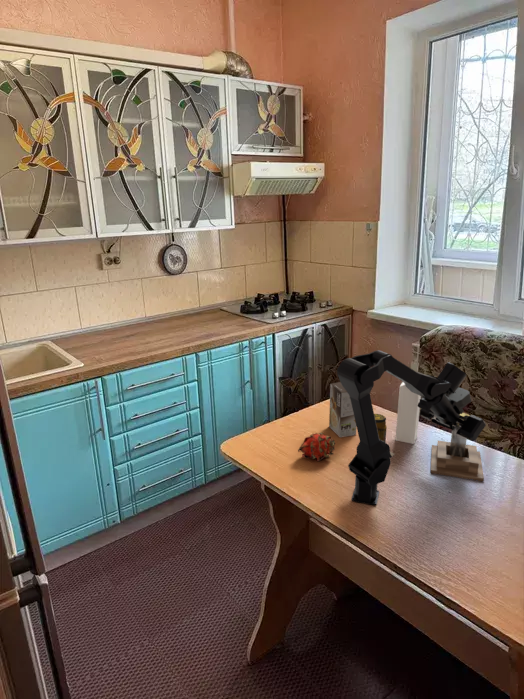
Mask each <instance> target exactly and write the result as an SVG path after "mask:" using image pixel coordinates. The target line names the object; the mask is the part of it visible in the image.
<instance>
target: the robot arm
mask: <svg viewBox="0 0 524 699" xmlns="http://www.w3.org/2000/svg"><path fill="white" fill-rule="evenodd" d="M385 372H386V373H387V374H389V375H391V376H393V377H395V378H396V379H398V380H400V381H401V382H404V383H405V386H406V387H407V388H408V389H409V390H410V391H411V392H413V393H415V394H417V395H420V396H421V399H420V402H419V403H418V407H419V408H420V410H419V416H421V418H423V419H425V420H428V421H431V422H432V423H433V424H435V425H438V426H440V427H442V428H443V427H444V428H446V429H449V430H451V431H452V427H453V426H455V427H456V426H457V425H458V424H459V426H460V427H459V430H458V431H457V432H456V434H458V435H460V436H463V437H465V438H467V440H469V441H473V442H475V441H476V440H477V439H478V438H479V436H480V435H481V433H482V432H483V430H484V429H485V427H486V425H487V424H486V422H485V420H484V419H483V418H480V417H478V416H476V415H474V414H469V415H470V416H467V415H466V416H461V415H460V414H462V413H465V410H464V408H465V407H466V406H467V405H468V404H471V402H472V397H471V394H470V390H467V389H466V388H465V389H464V388H461V387H460V386H461V385H462V384H463V382H464V380H465V379H466V377H467V373H466V372H465V371H463V370H461V368H459V367H457V366H456V364H454V363H451V362H446V364H445V365H444V367H443V369H442V370H441V372H440V373H439V374H438V376H437V377H436V376H433V375H430V374H424V373H422V372H419V371H416V370H414V369H413V368H411V367H410V366H407V365H406V364H404V363H403V362H401V361H400V360H399V359H397V358H395V357H394V356H393V355H392V354H390V353H389V352H384V351H382V350H378V349H377V350H373V351H371V352H369V353H366V354H365V353H364V354H360V355H355V356H352V357H348V358H345V359H343V360H342V361H341V363H339V366H338V367H337V369H336V373H337V377H338V379H339V382H341V384H342V386H343V387H344V388H345V390H346V391H347V393H348V394H349V396H350V399H351V404H352V408H353V413H354V417H355V422H356V431H357V434H358V438H359V442H358V444H357V447H356V454H355V456H354V457H353V458H352V460H350V462H349V463H348V464H347V466H348V469H349V472H351V473H353V474H354V475H355V478H354V479H355V481H354V482H355V484H354V488H353V493H352V495H351V501H352V502H355V503H361V504H366V505H372V506H377V505H378V501H379V496H380V490H378V485H379V484H381V483H383V482H385V481H386V478H387V474H388V472H389V469H390V467H391V463H392V462H391V459H392V458H393V456H391V454H390V452H391V447H390V445H389V443H387V442H386V443H385V442H383V441H382V440H380V439H379V436H378V431H377V426H376V421H375V416H374V414H375V412H374V407H373V402H372V397H371V392H372V390H373V387H374V386H375V385H374V384H375V382H376V381H378V380H380V379H381V377H383V374H384V373H385ZM461 419H462V420H461Z"/></svg>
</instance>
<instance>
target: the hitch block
mask: <svg viewBox="0 0 524 699" xmlns="http://www.w3.org/2000/svg"><path fill="white" fill-rule="evenodd" d="M450 443H451V441H446V440H445V441H443V440H437V445H435V444H432V445H431V456H430V457H431V458H430V474H433V475H441V476H446V477H453V478H459V479H465V480H470V479H473V480H472V481H476V480H478V482H482V481H485V476H484V470H483V462H482V457H481V456H482V455H481V451H478V449H477V445H473V444H472V445H471V444H466V448H465V455H464V456H463V457H458V456H452V455H451V454H450V453H449V452H450Z"/></svg>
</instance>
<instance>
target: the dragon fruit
mask: <svg viewBox="0 0 524 699" xmlns="http://www.w3.org/2000/svg"><path fill="white" fill-rule="evenodd" d="M335 444H336V442H335V440H334V438H332V436H329V435H327V434H324V433H322V432H319V434H318V433H316V432H315V433H312V434H311V435H310V436H306V437H305V438H304V440H303V442H302V443H301V445H300V446H299V448H298V449H297V452H298V453H299V452H300V453H303V454H301V457H303V458H305V459H311V460H314V459H316V461H317V462H320V461H321V460H323V459H326V458H329V457H330V455H332V456H333V455H334V452H333V451H335V450H336V449H335Z"/></svg>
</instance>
